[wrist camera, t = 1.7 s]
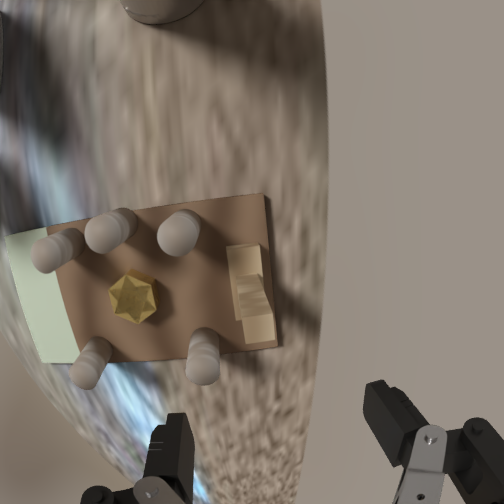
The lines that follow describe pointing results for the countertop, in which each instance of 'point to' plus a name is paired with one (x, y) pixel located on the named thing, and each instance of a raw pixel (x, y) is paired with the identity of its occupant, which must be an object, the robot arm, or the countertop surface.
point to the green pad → (41, 301)
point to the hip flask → (1, 49)
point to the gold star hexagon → (134, 296)
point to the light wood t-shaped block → (250, 292)
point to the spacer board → (157, 283)
